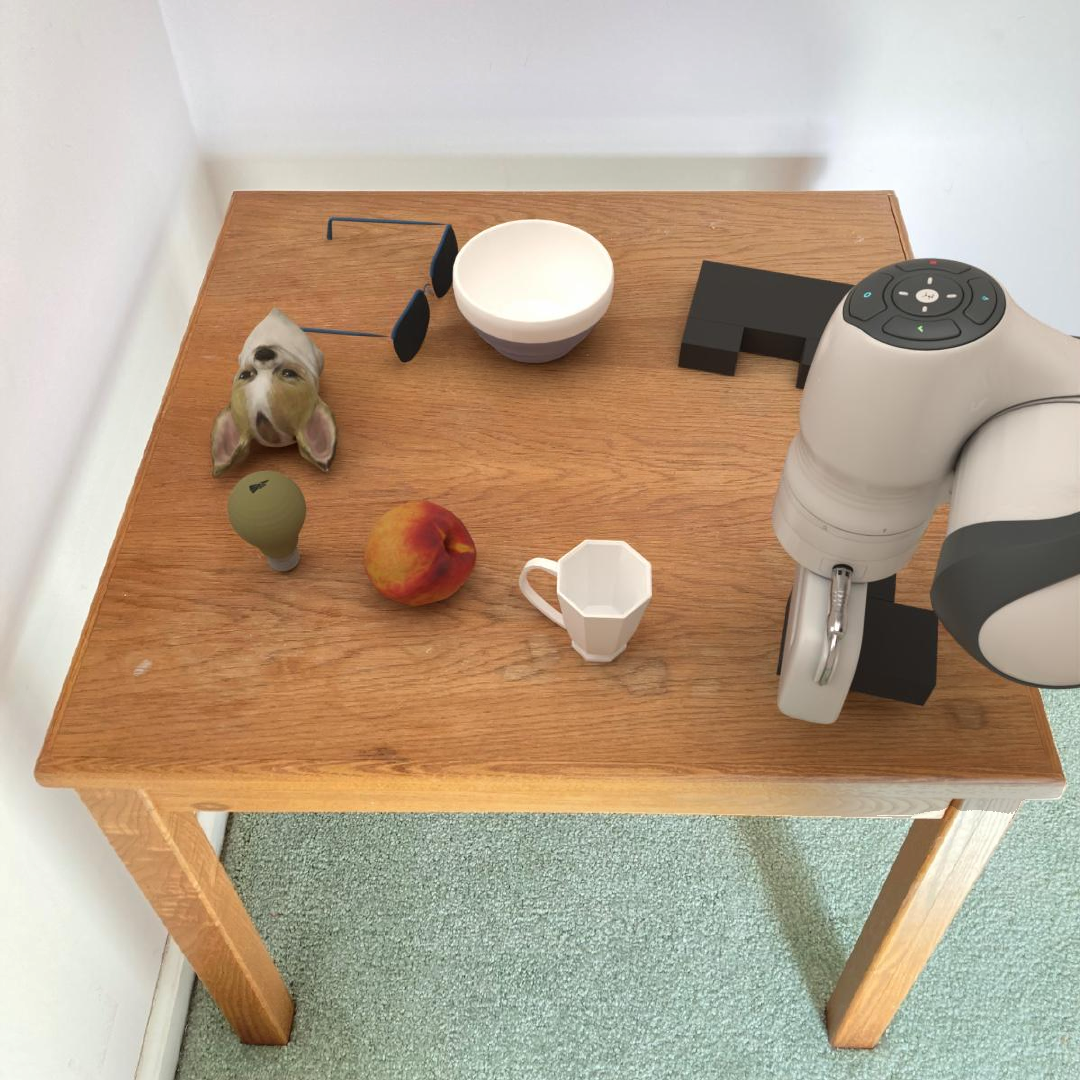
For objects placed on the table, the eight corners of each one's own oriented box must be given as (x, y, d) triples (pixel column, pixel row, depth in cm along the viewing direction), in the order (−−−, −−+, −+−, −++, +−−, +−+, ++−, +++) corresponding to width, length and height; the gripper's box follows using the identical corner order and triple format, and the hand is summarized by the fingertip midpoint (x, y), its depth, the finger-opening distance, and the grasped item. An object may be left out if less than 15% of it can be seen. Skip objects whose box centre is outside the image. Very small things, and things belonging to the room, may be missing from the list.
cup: (624, 693, 75) (632, 635, 68) (501, 642, 77) (497, 582, 71) (659, 619, 78) (670, 557, 72) (540, 573, 81) (541, 509, 74)
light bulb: (291, 605, 79) (263, 526, 71) (235, 574, 81) (202, 493, 73) (336, 555, 82) (314, 473, 74) (281, 526, 84) (254, 443, 76)
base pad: (863, 312, 99) (871, 287, 97) (853, 398, 92) (861, 374, 90) (699, 284, 102) (703, 259, 99) (677, 366, 95) (681, 342, 92)
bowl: (624, 296, 101) (629, 231, 95) (591, 400, 92) (595, 335, 86) (481, 272, 103) (477, 207, 97) (437, 371, 94) (430, 307, 88)
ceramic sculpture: (334, 289, 88) (322, 426, 79) (350, 360, 95) (341, 491, 87) (208, 295, 87) (184, 432, 79) (234, 365, 95) (214, 497, 86)
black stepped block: (928, 600, 75) (940, 576, 73) (923, 707, 70) (936, 685, 68) (790, 572, 77) (798, 549, 75) (776, 675, 72) (783, 653, 69)
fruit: (434, 644, 77) (424, 584, 71) (349, 596, 80) (333, 534, 73) (493, 571, 81) (489, 509, 75) (410, 527, 84) (400, 463, 77)
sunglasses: (408, 376, 94) (395, 334, 90) (265, 363, 98) (247, 322, 94) (464, 260, 104) (455, 217, 100) (333, 252, 108) (319, 210, 104)
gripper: (895, 666, 54) (838, 775, 65) (913, 397, 66) (862, 528, 77) (775, 641, 55) (739, 753, 66) (814, 381, 67) (777, 512, 78)
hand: (805, 630), depth 72 cm, fingers closed on black stepped block, 6 cm apart
